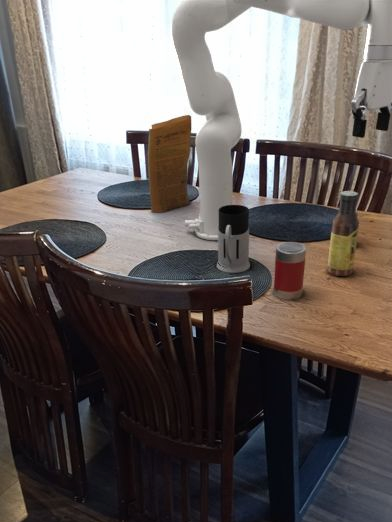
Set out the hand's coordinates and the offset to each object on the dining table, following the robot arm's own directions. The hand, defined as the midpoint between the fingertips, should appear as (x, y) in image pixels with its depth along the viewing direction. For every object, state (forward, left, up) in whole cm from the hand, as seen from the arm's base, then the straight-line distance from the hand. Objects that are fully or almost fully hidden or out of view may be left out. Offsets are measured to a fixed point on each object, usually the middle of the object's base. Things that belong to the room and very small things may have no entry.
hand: (370, 133), depth 130 cm
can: (-23, -25, -30) cm, 45 cm away
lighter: (-1, +3, -30) cm, 30 cm away
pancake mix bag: (-50, +40, -30) cm, 71 cm away
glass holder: (-35, -11, -30) cm, 47 cm away
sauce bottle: (-8, -15, -30) cm, 34 cm away
